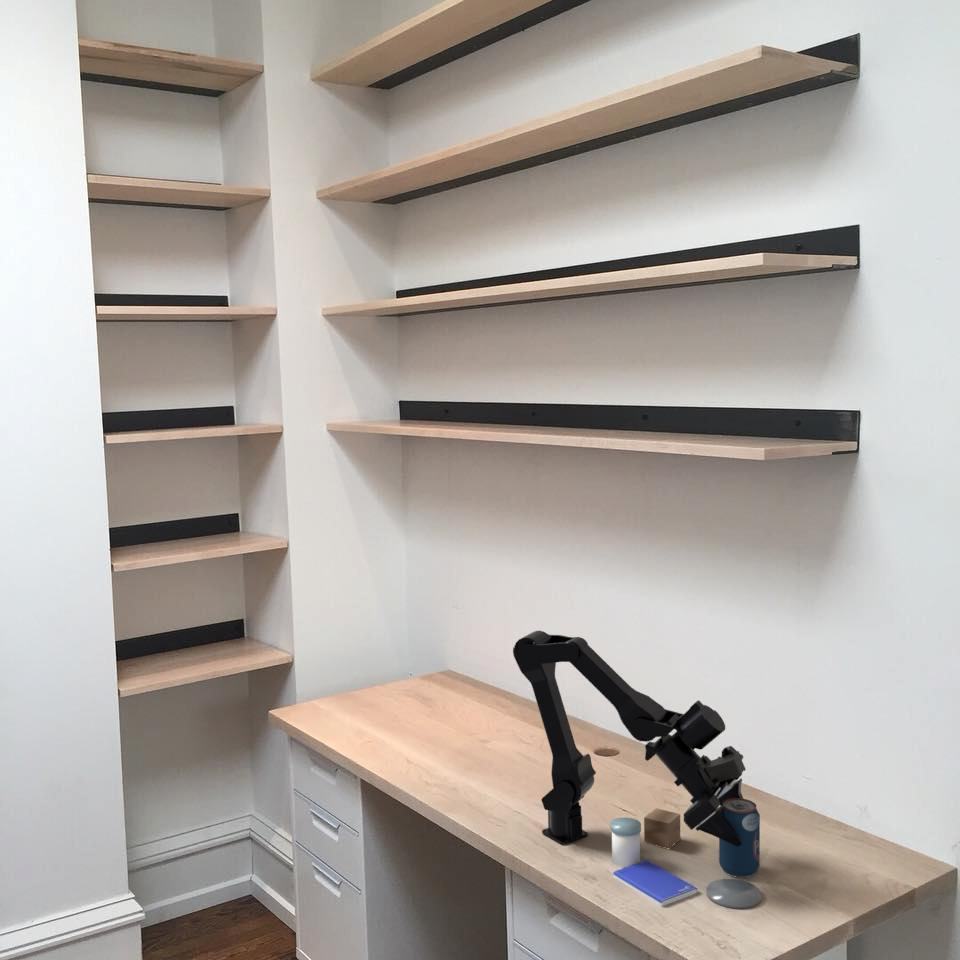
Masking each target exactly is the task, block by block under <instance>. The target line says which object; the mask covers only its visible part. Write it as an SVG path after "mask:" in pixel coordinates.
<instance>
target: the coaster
mask: <svg viewBox="0 0 960 960" xmlns="http://www.w3.org/2000/svg"><path fill="white" fill-rule="evenodd" d="M762 894H763V893H762V891H761V890H760V889H759V887H758V886H756V885H755V884H754V883H751V882H749V881H745V880H741V879H736V878H722V879H715V880H713V881H712V882H710V883H708V885H707V886H706V896H707V898H708V899H709V900H710V901H711V902H712V903H714V904H716V905H718V906H720V907H724V908H728V909H735V910H738V909H739V910H741V909H742V910H743V909H750V908H753V907H756V906H758V905H760V903H761V901H762V897H763V896H762Z"/></svg>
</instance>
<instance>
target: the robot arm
mask: <svg viewBox="0 0 960 960" xmlns="http://www.w3.org/2000/svg"><path fill="white" fill-rule="evenodd" d="M512 655H513V658H514V660H515V662H516V664H517V666H518V669H519V671H520V673H521V674H522V675H523V676H524V677H525V678H526V680H527V681H528V682H529V683H530V685H531V688H532V691H533V694H534V698H535V701H536V705H537V708H538V711H539V714H540V718H541V721H542V726H543V729H544V732H545V735H546V738H547V741H548V744H549V747H550V748H549V749H550V751H551V755H552V762H551V763H552V764H551V782H552V783H551V784H552V789H550V791H548V792H547V793H546V794H545V795H544V796H543V797H541V803H542V806H543V809H544V810H546V811H547V821H548V822H547V826H548V827H547V828H544V829H542V830H541V833H542V835H545V836H546V837H548V838H550V839H552V840H553V841H555V842H558V843H559V844H561V845H565V844H568V843H571V842H574V841H576V840H580V839H583V838H585V837H588V835H589V833H588V832H587V831H585V830H584V829H583V815H582V805H580V800H582V799H583V798H584V797H585V795H586V794H587V793H588V792H589V791H590V790H591V789H592V787H593V785H594V784H595V775H596V774H597V772H596V770H595V769H594V767H593V764H592V758H591V755H590V753H586V754H582V752H580V750H579V749H578V748H577V746H576V742H575V739H574V736H573V733H572V728H571V725H570V722H569V719H568V716H567V712H566V708H565V706H564V701H563V699H562V695H561V692H560V689H559V686H558V683H557V678H556V666H557V665H556V664H557V663H562V662H564V663H570V664H571V665H572V666H573V667H574V668H575V669H576V670H577V671H578V672H579V673H580V674H581V675H582V676H583V677H584V678H585V679H586V680H587V681H589V683H590V684H591V685H592V686H594V688H595V689H596V690H597V691H598V692H599V693H600V694H601V695H603V697H604V698H605V699H606V700H607V701H608V702H609V703H610V704H611V705H612V706H613V708H615V710H616V712H617V714H618V716H619V719H620V721H621V723H622V724H623V726H624V727H625V728H626V729H627V731H628V732H629V734H630V735H631V736H632V737H633V738H634V740H636V741H639V742H646V744H645V745H644V748H645V756H644V760H645V761H646V762H647V761H649V760H651V759H652V758H653V757H655V756H656V757H657V758H658V759H659V760H660V761H661V762H662V763H663V765H664V766H665V767H666V768H667V769H668V770H669V771H670V772H671V774H672V775H673V776H674V777H675V778H676V779H675V780H674V784H675V785H676V787H679V786H680V785H682V786H683V788H684V789H685V790H686V791H687V792H688V793H689V794H690V796H691V797H692V798H691V799H690V803H692V804H691V805H690V806H689V807H688V808H687V809H686V810H685V812H684V813H683V822H684V823H685V825H686V826H687V827H688V828H689V829H690V830H691V831H692V830H694V829H695V830H696V831H697V832H698V831H700V832H703V833H707V834H709V835H712V836H714V837H715V838H717V839H719V838H720V839H722V840H724V841H726V842H728V843H730V844H732V845H735V846H737V847H739V846H740V845H742V841H741V840H740V838H739V836H738V835H737V833H736V832H735V831H734V829H733V828H732V826H731V825H730V824H729V822H728V821H727V819H726V818H725V816H724V804H723V802H724V801H725V800H727V799H732V798H741V799H745V798H744V796H743V794H742V782H743V778H740V777H742V775H743V773H744V771H746V770H747V768H746V767H745V765H744V763H743V760H744V754H742V753H740V751H739V750H737V749H735V747H733V746H732V745H729V746H725V747H724V748H723V749H722V750H721V756H718V757H717V758H716V759H715V758H714V759H713V760H711V759H710V758H709V756H707V755H704V754H702V756H700V755H699V754H698V753H697V752H696V751H695V749H696V750H699V751H701V750H703V749H704V748H706V747H707V746H708V745H709V744H710V743H712V742H713V741H714V740H715V739H716V738H718V737H719V736H720V735H721V734H722V733H724V732H725V730H726V724H725V722H724V720H723V718H722V716H721V715H720V714H719V713H718V711H717V710H714V709H713V708H711V707H710V706H709V705H706V704H703V703H702V701H701V700H700V699H699V700H698V699H697V701H696V702H694V703H693V704H692V705H691V706H690V707H689V709H688V710H686V711H685V713H682V712H677V711H673V710H671V709H670V710H669V709H667V708H665V707H664V706H662V705H661V704H660V703H658V702H656V700H654V699H653V698H652V697H650V696H649V695H646V694H644V693H643V692H639V691H638V690H636V689H634V688H633V687H632V686H630V684H629V683H628V682H627V681H625V680H624V679H623V677H621V676H620V675H619V674H618V673H617V672H616V671H615V670H614V669H613V668H612V666H610V665H609V664H608V663H607V662H606V661H605V660H604V659H603V658H602V657H601V656H600V655H599V654H598V653H597V652H596V651H595V650H594V649H593V648H592V647H591V646H590V645H589V643H588V641H587V640H586V639H584V638H583V637H580V636H575V637H574V636H572V637H571V636H567V635H561V634H549V633H546V632H545V631H543V630H534V631H533V632H531V633H530V632H529V633H528V634H527V635H525V636H523V637H521V638H519V639H518V640H516V642H515V644H514V647H512ZM673 730H676V731H675V732H674V733H673V734H670V733H672V732H673ZM655 738H658V739H657V740H656V741H654V742H653V740H654V739H655Z"/></svg>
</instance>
